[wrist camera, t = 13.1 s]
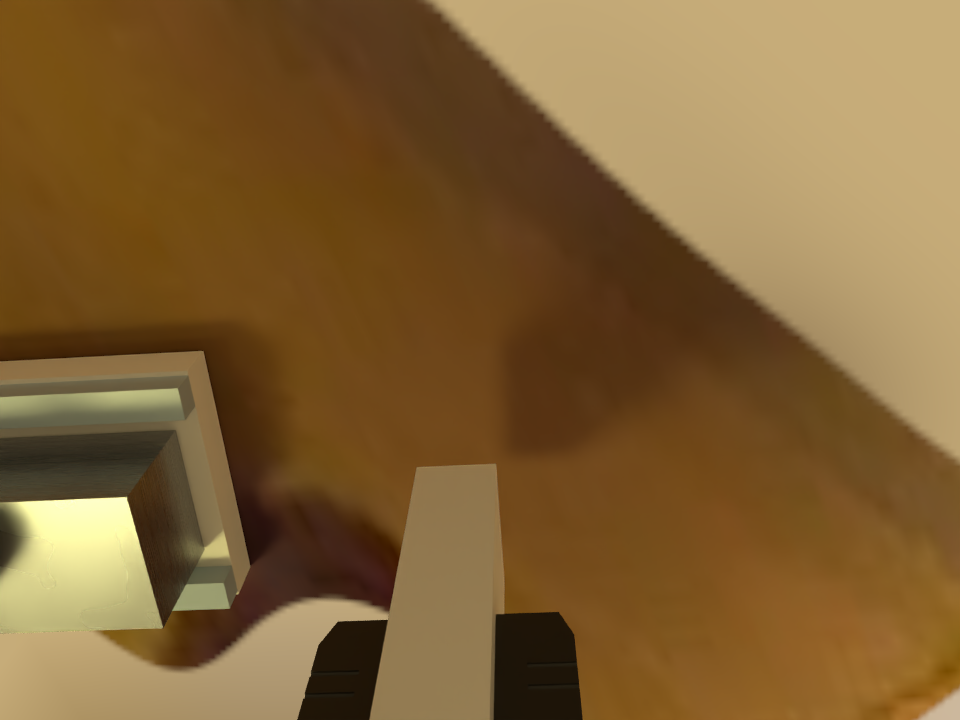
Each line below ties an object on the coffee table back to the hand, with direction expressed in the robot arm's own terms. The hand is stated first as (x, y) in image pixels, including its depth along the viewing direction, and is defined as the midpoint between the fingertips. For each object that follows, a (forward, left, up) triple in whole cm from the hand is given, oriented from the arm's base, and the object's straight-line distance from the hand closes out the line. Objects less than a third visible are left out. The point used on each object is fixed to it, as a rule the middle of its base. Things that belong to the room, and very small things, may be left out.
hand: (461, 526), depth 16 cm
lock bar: (-9, 0, -2) cm, 9 cm away
